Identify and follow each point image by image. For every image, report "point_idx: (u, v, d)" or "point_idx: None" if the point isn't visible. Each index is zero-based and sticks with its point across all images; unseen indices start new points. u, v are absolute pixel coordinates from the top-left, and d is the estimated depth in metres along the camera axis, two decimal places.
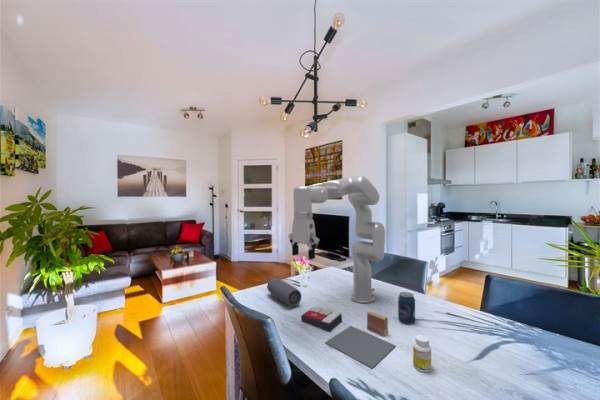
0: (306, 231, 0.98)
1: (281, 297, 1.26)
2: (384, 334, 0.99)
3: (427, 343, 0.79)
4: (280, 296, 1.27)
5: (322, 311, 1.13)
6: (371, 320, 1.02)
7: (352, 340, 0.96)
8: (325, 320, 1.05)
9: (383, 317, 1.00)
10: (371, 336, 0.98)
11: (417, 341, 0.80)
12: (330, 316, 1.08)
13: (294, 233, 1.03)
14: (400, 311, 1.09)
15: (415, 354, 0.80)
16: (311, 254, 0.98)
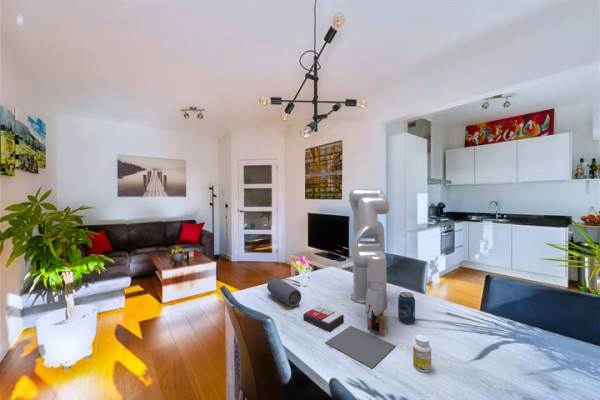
0: (386, 297, 1.03)
1: (281, 297, 1.26)
2: (384, 334, 0.99)
3: (427, 343, 0.79)
4: (280, 296, 1.27)
5: (324, 311, 1.13)
6: None
7: (352, 340, 0.96)
8: (325, 320, 1.05)
9: (383, 317, 1.00)
10: (371, 336, 0.98)
11: (417, 341, 0.80)
12: (331, 316, 1.08)
13: (379, 306, 0.99)
14: (400, 311, 1.09)
15: (415, 354, 0.80)
16: None
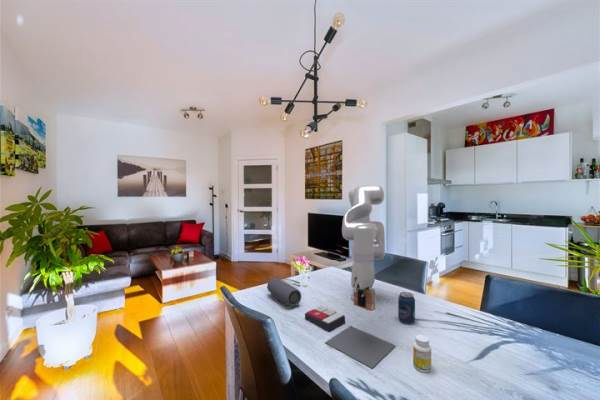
0: (374, 271, 0.96)
1: (281, 297, 1.26)
2: (371, 309, 0.92)
3: (427, 343, 0.79)
4: (280, 296, 1.27)
5: (326, 311, 1.13)
6: None
7: (352, 340, 0.96)
8: (325, 320, 1.05)
9: (370, 291, 0.93)
10: (371, 336, 0.98)
11: (417, 341, 0.80)
12: (332, 316, 1.08)
13: (365, 279, 0.91)
14: (400, 311, 1.09)
15: (415, 354, 0.80)
16: None
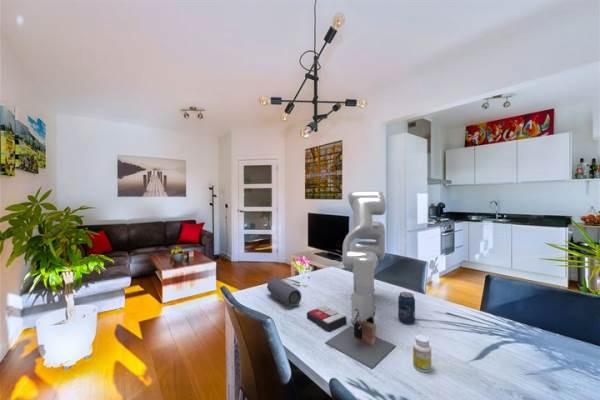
0: (374, 301, 0.96)
1: (281, 297, 1.26)
2: (372, 343, 0.92)
3: (427, 343, 0.79)
4: (280, 296, 1.27)
5: (328, 311, 1.13)
6: None
7: (352, 340, 0.96)
8: (326, 320, 1.05)
9: (371, 325, 0.93)
10: None
11: (417, 341, 0.80)
12: (333, 317, 1.07)
13: (365, 311, 0.92)
14: (400, 311, 1.09)
15: (415, 354, 0.80)
16: None
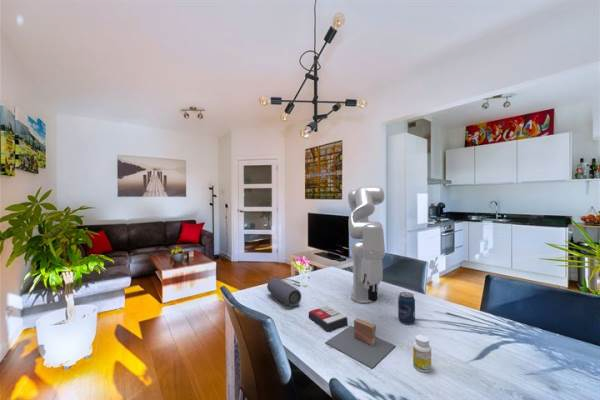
0: (382, 268, 1.01)
1: (281, 297, 1.26)
2: (372, 343, 0.92)
3: (427, 343, 0.79)
4: (280, 296, 1.27)
5: (329, 311, 1.13)
6: (358, 328, 0.96)
7: (352, 340, 0.96)
8: (326, 320, 1.05)
9: (371, 325, 0.93)
10: None
11: (417, 341, 0.80)
12: (333, 317, 1.07)
13: (374, 275, 0.96)
14: (400, 311, 1.09)
15: (415, 354, 0.80)
16: None
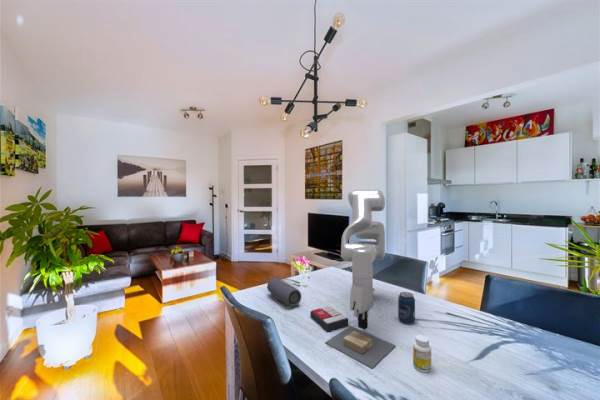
0: None
1: (281, 297, 1.26)
2: (370, 345, 0.91)
3: (427, 343, 0.79)
4: (280, 296, 1.27)
5: (331, 311, 1.13)
6: None
7: None
8: (326, 320, 1.05)
9: (359, 349, 0.88)
10: (371, 336, 0.98)
11: (417, 341, 0.80)
12: (334, 318, 1.07)
13: (364, 303, 0.91)
14: (400, 311, 1.09)
15: (415, 354, 0.80)
16: None
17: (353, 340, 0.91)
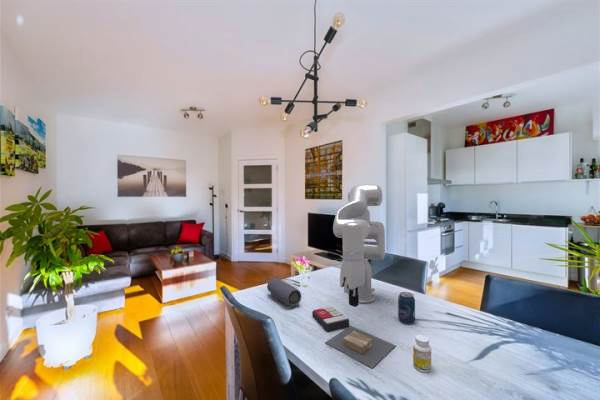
0: (364, 270, 0.91)
1: (281, 297, 1.26)
2: (370, 345, 0.91)
3: (427, 343, 0.79)
4: (280, 296, 1.27)
5: (332, 312, 1.12)
6: None
7: None
8: (326, 320, 1.05)
9: (359, 349, 0.88)
10: (371, 336, 0.98)
11: (417, 341, 0.80)
12: (335, 318, 1.07)
13: (355, 278, 0.87)
14: (400, 311, 1.09)
15: (415, 354, 0.80)
16: None
17: (353, 340, 0.91)
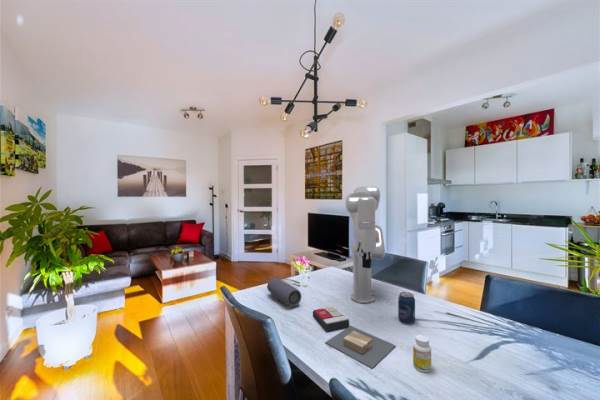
0: (375, 238, 1.09)
1: (281, 297, 1.26)
2: (370, 345, 0.91)
3: (427, 343, 0.79)
4: (280, 296, 1.27)
5: (333, 312, 1.12)
6: None
7: None
8: (326, 320, 1.05)
9: (359, 349, 0.88)
10: (371, 336, 0.98)
11: (417, 341, 0.80)
12: (335, 318, 1.06)
13: (368, 243, 1.04)
14: (400, 311, 1.09)
15: (415, 354, 0.80)
16: None
17: (353, 340, 0.91)
